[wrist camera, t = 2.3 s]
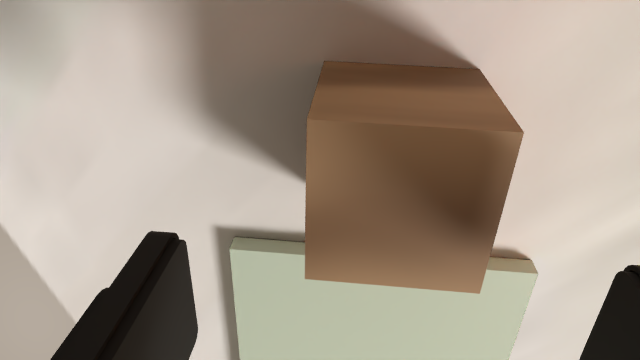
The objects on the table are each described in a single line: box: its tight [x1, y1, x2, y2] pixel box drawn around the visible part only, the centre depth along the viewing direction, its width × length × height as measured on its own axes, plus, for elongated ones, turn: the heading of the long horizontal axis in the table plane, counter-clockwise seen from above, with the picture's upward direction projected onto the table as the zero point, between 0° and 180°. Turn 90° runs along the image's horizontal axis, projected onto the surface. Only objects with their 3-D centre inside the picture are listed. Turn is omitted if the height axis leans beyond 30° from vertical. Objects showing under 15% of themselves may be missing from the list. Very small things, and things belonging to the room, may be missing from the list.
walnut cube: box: [305, 61, 524, 294], centre depth 14 cm, size 5×5×5 cm
